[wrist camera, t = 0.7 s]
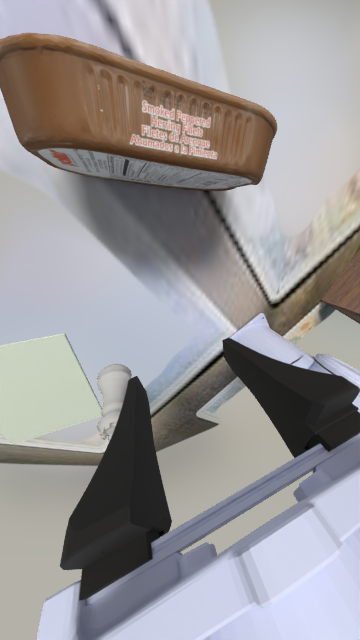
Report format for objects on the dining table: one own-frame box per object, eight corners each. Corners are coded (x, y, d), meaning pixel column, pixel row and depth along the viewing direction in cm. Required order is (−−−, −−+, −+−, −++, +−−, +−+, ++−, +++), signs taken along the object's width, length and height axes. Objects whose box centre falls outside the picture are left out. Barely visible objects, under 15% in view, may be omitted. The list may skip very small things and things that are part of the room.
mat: (64, 333, 18) (64, 334, 18) (104, 413, 26) (104, 415, 26) (-82, 360, 15) (-85, 362, 15) (14, 442, 23) (13, 444, 23)
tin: (227, 160, 15) (319, 104, 8) (222, 201, 17) (295, 182, 10) (36, 121, 11) (-110, -69, 4) (52, 182, 12) (-32, 122, 5)
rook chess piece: (106, 358, 21) (101, 417, 15) (136, 366, 24) (144, 420, 17) (92, 382, 22) (81, 446, 16) (122, 387, 25) (124, 445, 18)
